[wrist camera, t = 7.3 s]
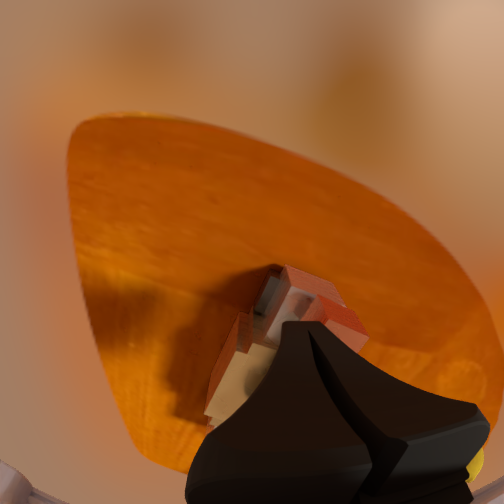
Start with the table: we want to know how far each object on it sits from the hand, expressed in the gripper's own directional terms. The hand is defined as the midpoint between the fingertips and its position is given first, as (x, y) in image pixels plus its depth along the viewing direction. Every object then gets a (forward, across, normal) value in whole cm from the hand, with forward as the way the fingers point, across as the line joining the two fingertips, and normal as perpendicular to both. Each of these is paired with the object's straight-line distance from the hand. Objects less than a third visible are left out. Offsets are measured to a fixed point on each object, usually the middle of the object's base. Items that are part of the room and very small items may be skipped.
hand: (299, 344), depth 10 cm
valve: (+8, +1, +7) cm, 11 cm away
